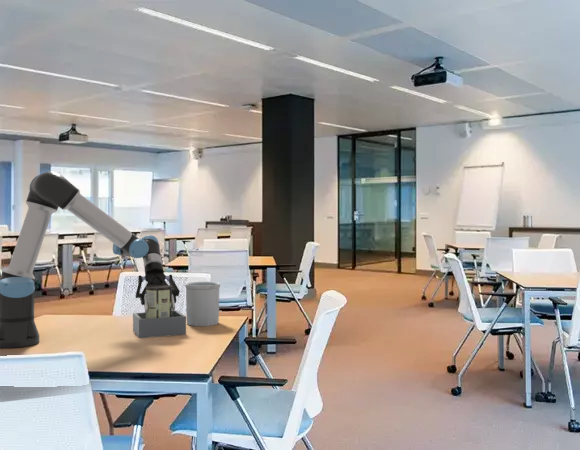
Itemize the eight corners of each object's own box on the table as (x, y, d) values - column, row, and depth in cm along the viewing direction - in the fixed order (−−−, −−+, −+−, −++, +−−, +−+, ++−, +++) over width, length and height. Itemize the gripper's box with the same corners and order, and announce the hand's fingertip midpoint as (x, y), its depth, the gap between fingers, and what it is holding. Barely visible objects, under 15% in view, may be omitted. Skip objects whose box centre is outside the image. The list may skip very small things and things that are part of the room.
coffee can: (156, 318, 227) (156, 283, 227) (177, 320, 223) (177, 285, 223) (139, 322, 218) (140, 286, 218) (161, 324, 213) (161, 288, 213)
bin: (138, 338, 209) (139, 319, 209) (132, 330, 224) (132, 313, 224) (185, 334, 217) (186, 316, 217) (177, 327, 231) (177, 310, 231)
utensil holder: (217, 326, 232) (217, 285, 232) (181, 326, 233) (182, 285, 232) (222, 320, 247) (222, 281, 247) (189, 320, 247) (189, 281, 247)
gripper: (178, 271, 239) (187, 313, 225) (124, 273, 230) (129, 317, 215) (181, 260, 234) (190, 302, 220) (126, 261, 225) (131, 305, 211)
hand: (160, 309), depth 218 cm, fingers closed on coffee can, 10 cm apart
